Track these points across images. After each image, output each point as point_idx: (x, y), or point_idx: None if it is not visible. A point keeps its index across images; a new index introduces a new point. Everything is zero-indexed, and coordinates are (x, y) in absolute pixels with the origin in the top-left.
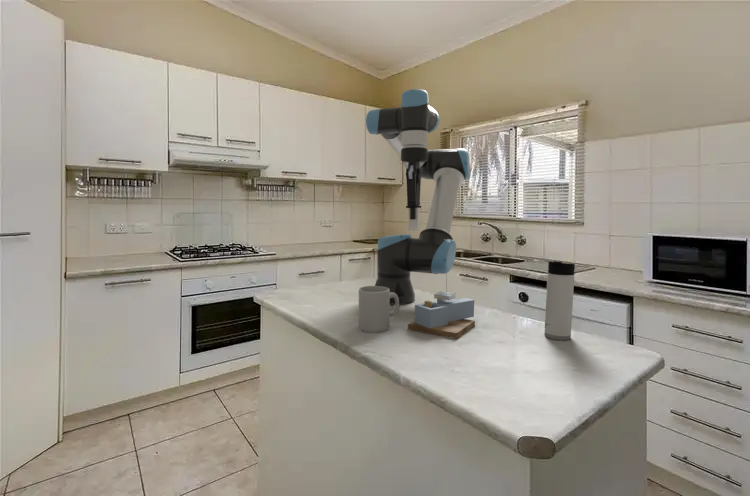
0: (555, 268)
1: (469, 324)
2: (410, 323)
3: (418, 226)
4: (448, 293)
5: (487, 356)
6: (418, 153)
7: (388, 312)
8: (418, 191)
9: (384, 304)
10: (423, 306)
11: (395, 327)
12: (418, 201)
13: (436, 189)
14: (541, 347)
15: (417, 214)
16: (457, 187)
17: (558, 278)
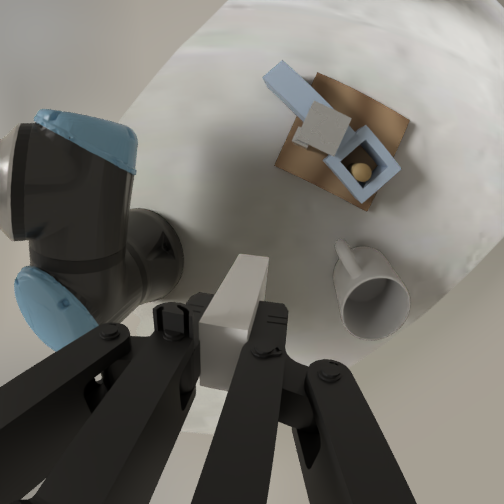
0: None
1: (348, 86)
2: (363, 206)
3: (236, 261)
4: (319, 118)
5: (466, 92)
6: None
7: (378, 258)
8: (116, 448)
9: (395, 272)
10: (375, 183)
11: (354, 234)
12: (159, 360)
13: None
14: (407, 5)
15: (256, 305)
16: None
17: None
